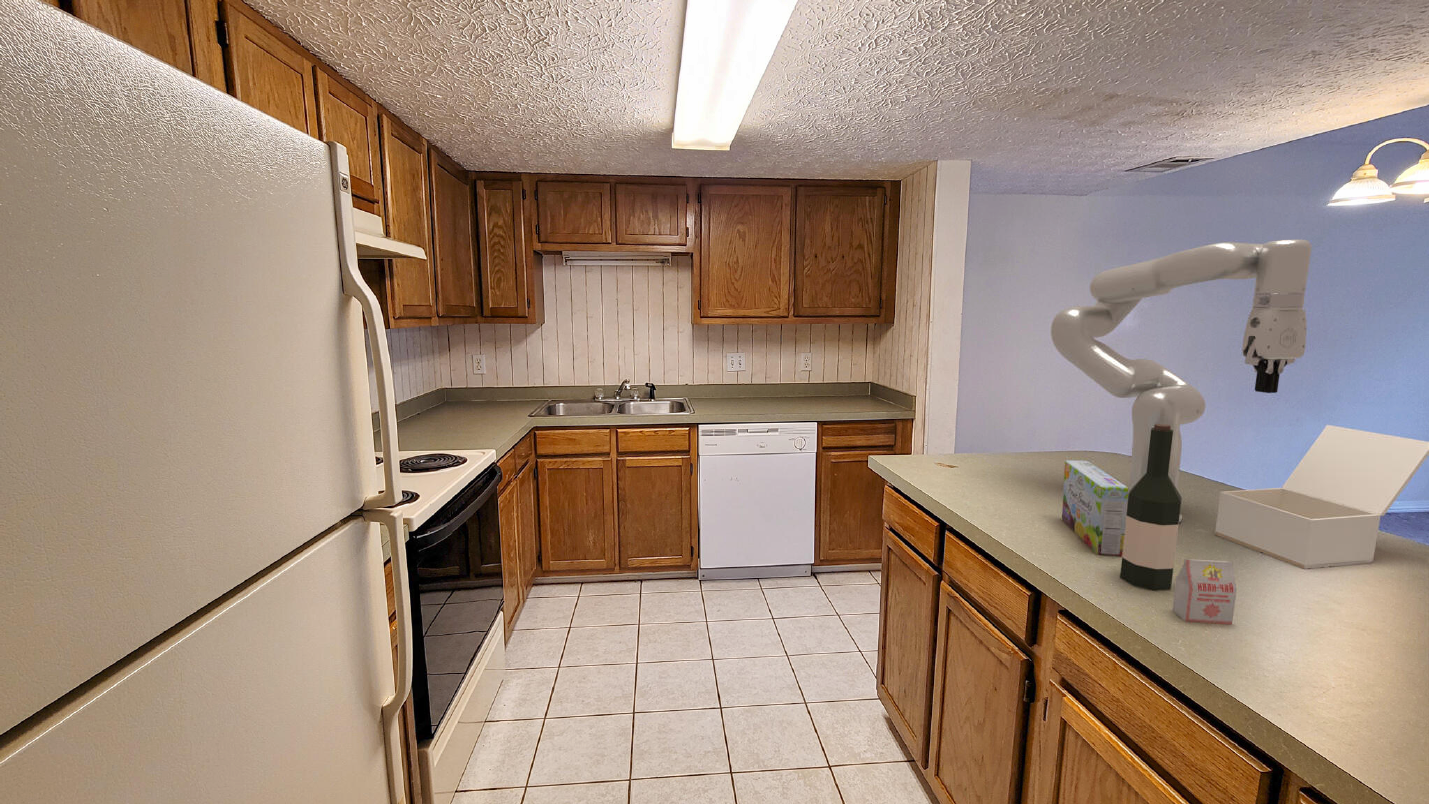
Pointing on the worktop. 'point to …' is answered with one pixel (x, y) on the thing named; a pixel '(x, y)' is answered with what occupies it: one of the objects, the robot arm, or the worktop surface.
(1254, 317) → the robot arm
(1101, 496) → the snack box
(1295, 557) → the carton
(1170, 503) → the wine bottle
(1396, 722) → the worktop surface
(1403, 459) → the carton lid
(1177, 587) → the white and red packet
